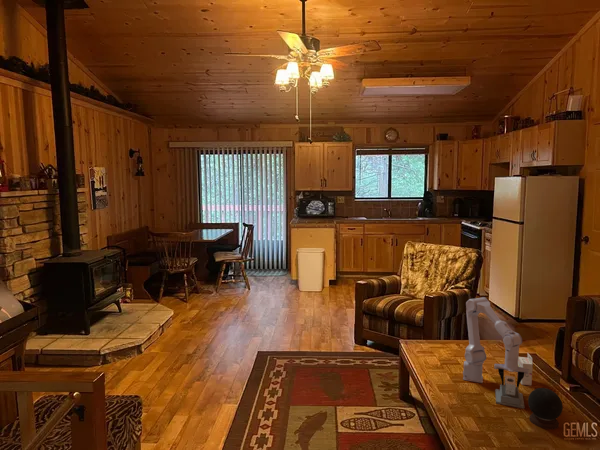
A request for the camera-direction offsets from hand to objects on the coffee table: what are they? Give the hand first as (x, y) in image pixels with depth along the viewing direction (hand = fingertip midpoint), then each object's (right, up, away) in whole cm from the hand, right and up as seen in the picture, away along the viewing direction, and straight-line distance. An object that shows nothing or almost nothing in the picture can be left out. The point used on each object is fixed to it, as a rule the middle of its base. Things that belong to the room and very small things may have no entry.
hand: (510, 385), depth 205 cm
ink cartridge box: (+17, -5, +19) cm, 25 cm away
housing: (0, -3, 0) cm, 3 cm away
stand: (0, -7, +1) cm, 7 cm away
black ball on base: (+6, -10, -18) cm, 21 cm away
